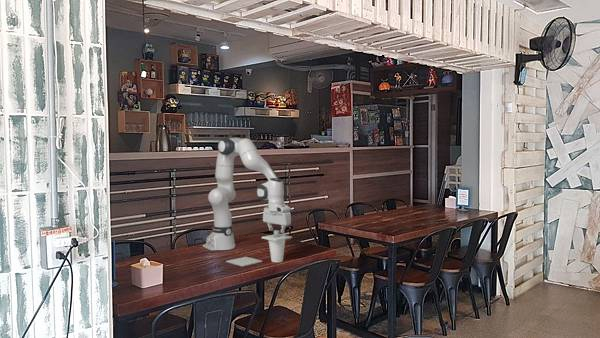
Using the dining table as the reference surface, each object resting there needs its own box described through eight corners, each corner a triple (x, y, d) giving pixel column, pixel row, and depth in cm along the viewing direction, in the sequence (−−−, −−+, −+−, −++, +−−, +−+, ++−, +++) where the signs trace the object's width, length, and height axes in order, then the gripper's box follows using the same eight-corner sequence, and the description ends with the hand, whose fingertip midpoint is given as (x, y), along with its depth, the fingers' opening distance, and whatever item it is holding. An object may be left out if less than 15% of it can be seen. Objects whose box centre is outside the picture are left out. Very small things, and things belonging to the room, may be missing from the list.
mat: (226, 261, 277) (226, 260, 277) (245, 257, 286) (245, 256, 286) (242, 266, 266) (242, 265, 266) (262, 261, 276) (262, 260, 276)
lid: (261, 238, 277) (261, 230, 276) (277, 235, 285) (277, 227, 285) (276, 241, 268) (275, 233, 268) (291, 237, 277) (291, 230, 276)
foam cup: (283, 263, 272) (282, 240, 271) (266, 262, 274) (266, 239, 273) (287, 259, 281) (286, 236, 280) (271, 258, 283) (271, 236, 282)
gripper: (260, 206, 281) (260, 230, 282) (284, 209, 266) (284, 234, 267) (268, 205, 285) (268, 228, 286) (292, 208, 271) (293, 233, 271)
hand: (276, 231), depth 276 cm, fingers open, 8 cm apart
